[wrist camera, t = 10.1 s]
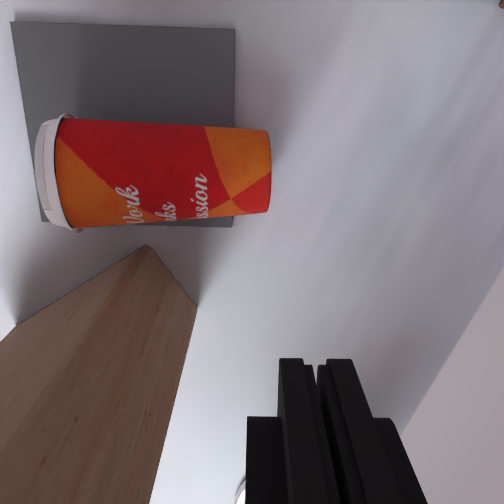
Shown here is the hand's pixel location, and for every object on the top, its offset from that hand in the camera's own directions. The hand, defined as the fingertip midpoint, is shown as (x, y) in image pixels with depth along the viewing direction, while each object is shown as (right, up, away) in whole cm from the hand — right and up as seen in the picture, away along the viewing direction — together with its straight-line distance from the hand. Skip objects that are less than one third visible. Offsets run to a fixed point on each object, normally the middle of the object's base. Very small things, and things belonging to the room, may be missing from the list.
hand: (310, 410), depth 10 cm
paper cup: (0, +9, +19) cm, 21 cm away
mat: (-10, +13, +22) cm, 27 cm away
